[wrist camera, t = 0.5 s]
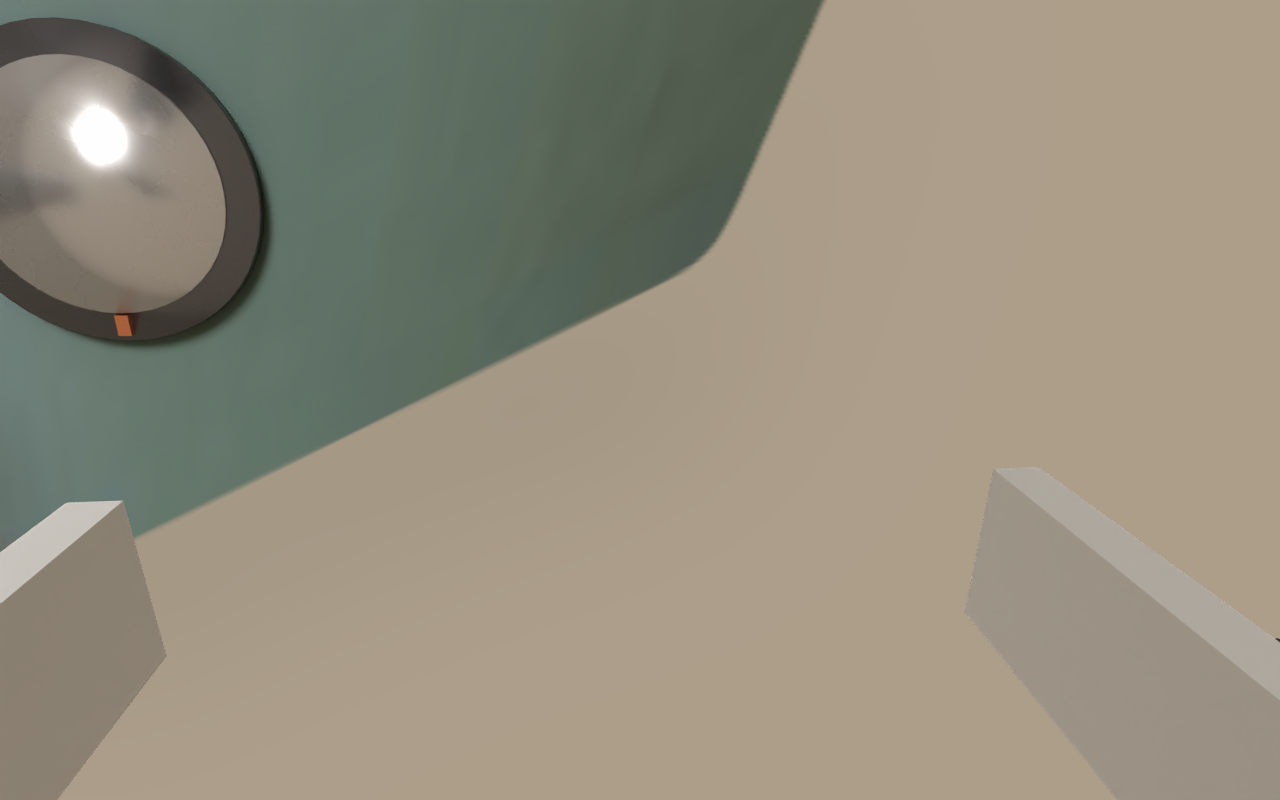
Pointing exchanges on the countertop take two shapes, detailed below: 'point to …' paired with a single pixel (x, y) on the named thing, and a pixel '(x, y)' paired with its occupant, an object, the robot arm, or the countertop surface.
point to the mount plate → (118, 184)
